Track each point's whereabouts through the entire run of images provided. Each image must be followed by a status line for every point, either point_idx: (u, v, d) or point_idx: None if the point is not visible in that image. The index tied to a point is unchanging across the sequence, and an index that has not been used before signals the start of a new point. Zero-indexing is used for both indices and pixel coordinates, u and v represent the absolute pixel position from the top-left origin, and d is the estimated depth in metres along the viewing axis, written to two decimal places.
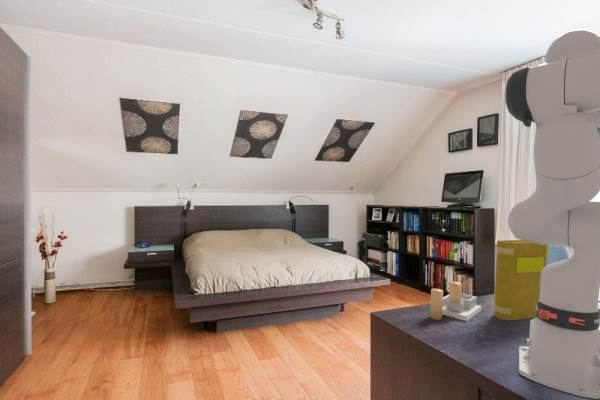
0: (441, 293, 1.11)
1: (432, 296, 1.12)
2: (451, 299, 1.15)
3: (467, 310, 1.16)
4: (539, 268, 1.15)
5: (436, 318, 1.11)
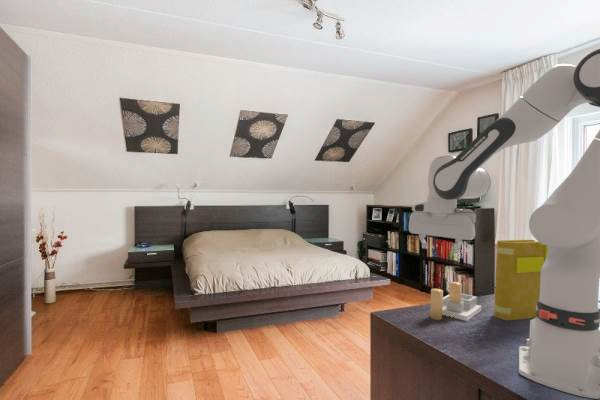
0: (441, 293, 1.11)
1: (432, 296, 1.12)
2: (451, 299, 1.15)
3: (467, 310, 1.16)
4: (539, 268, 1.15)
5: (436, 318, 1.11)
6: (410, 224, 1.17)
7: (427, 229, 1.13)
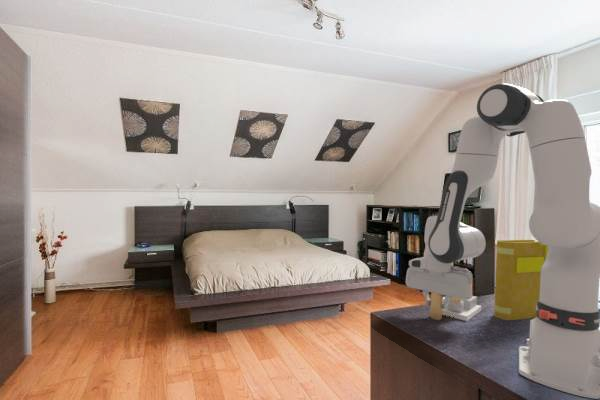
0: None
1: (432, 296, 1.12)
2: (451, 299, 1.15)
3: (467, 310, 1.16)
4: (539, 268, 1.15)
5: (436, 318, 1.11)
6: (407, 278, 1.17)
7: (424, 285, 1.13)
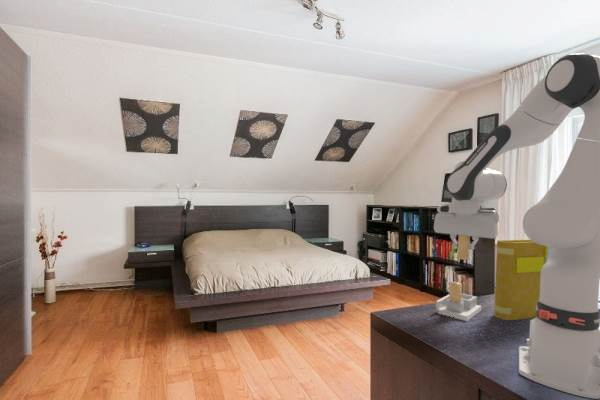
0: None
1: (460, 238, 1.20)
2: (451, 299, 1.15)
3: (467, 310, 1.16)
4: (539, 268, 1.15)
5: (463, 258, 1.19)
6: (435, 224, 1.25)
7: (452, 229, 1.22)
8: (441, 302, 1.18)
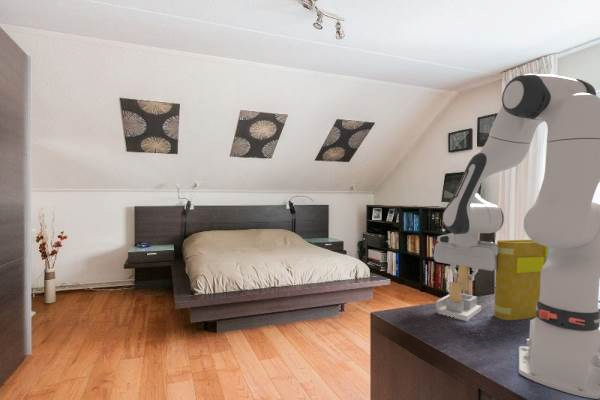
0: None
1: (460, 269, 1.21)
2: (451, 299, 1.15)
3: (467, 310, 1.16)
4: (539, 268, 1.15)
5: (463, 289, 1.20)
6: (435, 253, 1.26)
7: (452, 259, 1.22)
8: (441, 302, 1.18)
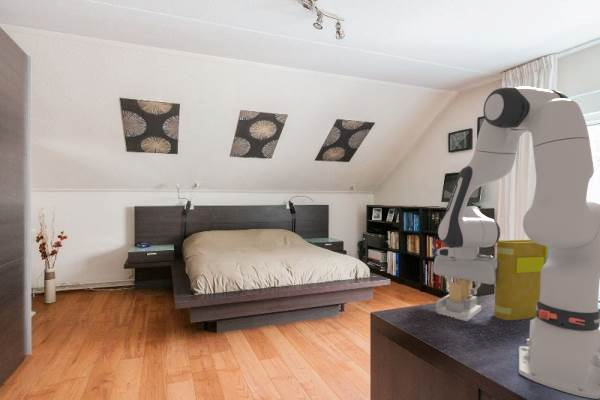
0: (468, 282, 1.20)
1: None
2: (451, 299, 1.15)
3: (467, 310, 1.16)
4: (539, 268, 1.15)
5: None
6: (435, 266, 1.26)
7: (451, 272, 1.22)
8: (441, 302, 1.18)
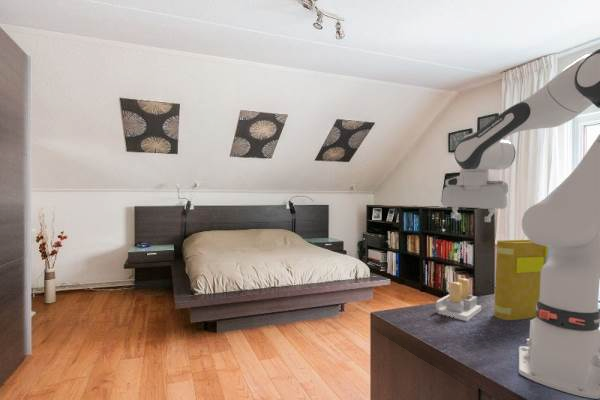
0: (467, 282, 1.20)
1: None
2: (451, 299, 1.15)
3: (467, 310, 1.16)
4: (539, 268, 1.15)
5: None
6: (443, 198, 1.25)
7: (460, 201, 1.21)
8: (441, 302, 1.18)
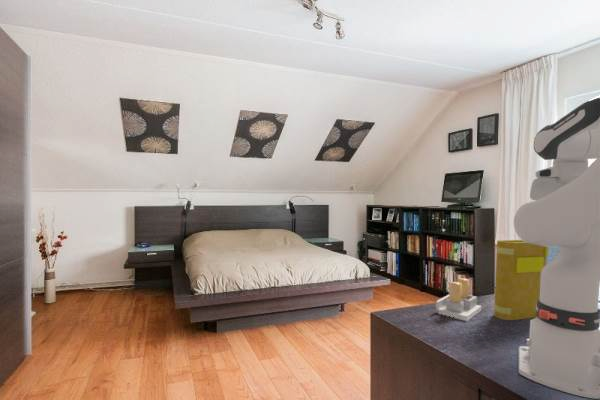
0: (467, 282, 1.20)
1: None
2: (451, 299, 1.15)
3: (467, 310, 1.16)
4: (539, 268, 1.15)
5: None
6: (532, 191, 1.15)
7: None
8: (441, 302, 1.18)
